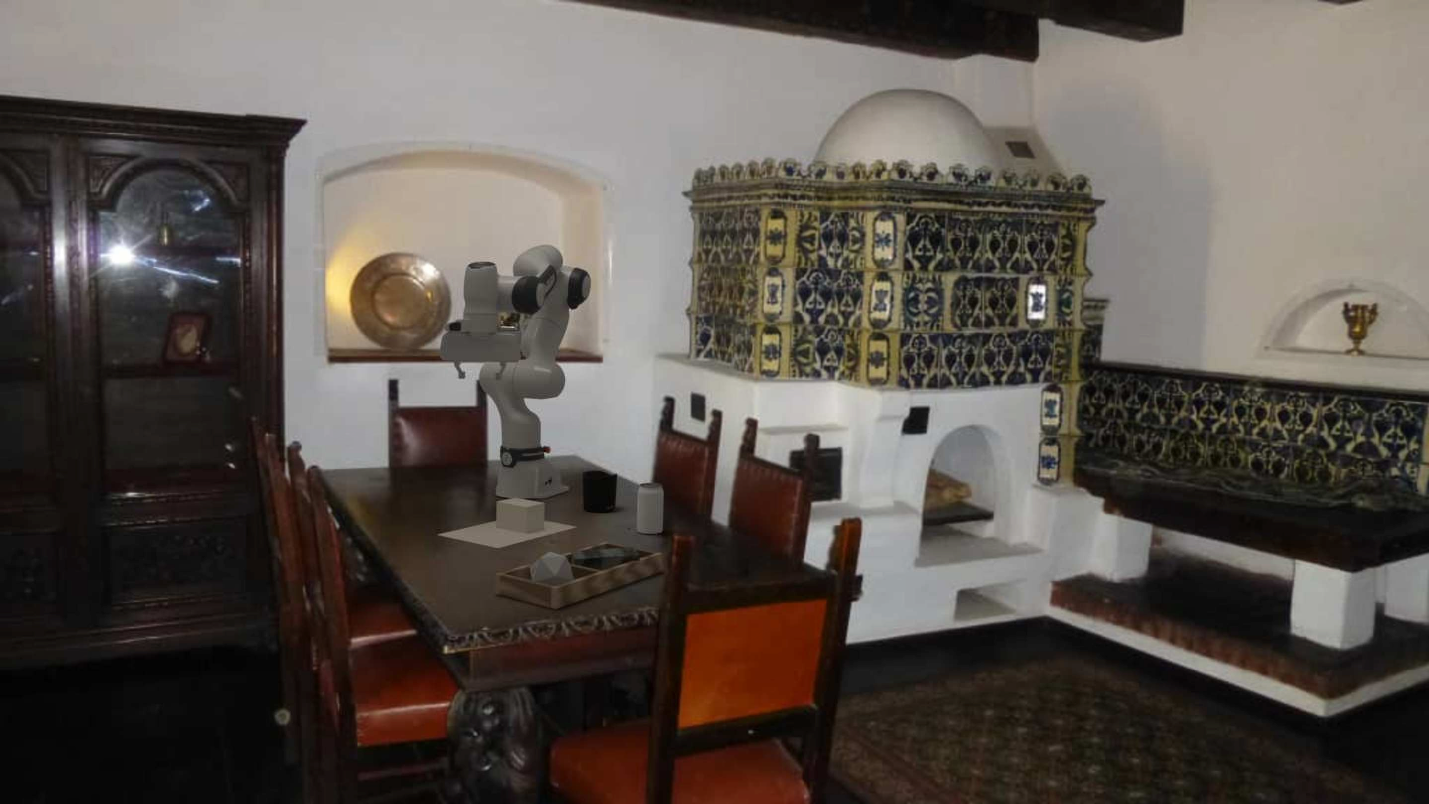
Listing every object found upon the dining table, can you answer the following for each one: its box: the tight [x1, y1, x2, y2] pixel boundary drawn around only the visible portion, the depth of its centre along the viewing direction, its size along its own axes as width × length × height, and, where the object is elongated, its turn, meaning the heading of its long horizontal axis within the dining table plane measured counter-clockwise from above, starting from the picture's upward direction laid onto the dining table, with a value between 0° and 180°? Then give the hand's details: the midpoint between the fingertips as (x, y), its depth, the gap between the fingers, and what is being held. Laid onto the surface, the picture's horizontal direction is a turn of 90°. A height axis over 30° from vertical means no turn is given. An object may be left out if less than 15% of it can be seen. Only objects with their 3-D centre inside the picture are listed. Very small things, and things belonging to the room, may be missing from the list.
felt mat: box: [437, 520, 577, 549], centre depth 264 cm, size 28×20×1 cm
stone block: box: [570, 546, 640, 571], centre depth 228 cm, size 9×14×5 cm, turn 103°
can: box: [636, 482, 665, 535], centre depth 268 cm, size 6×6×12 cm
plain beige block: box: [495, 498, 546, 533], centre depth 267 cm, size 6×10×6 cm, turn 57°
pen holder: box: [582, 470, 618, 514], centre depth 292 cm, size 9×9×10 cm
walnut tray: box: [494, 541, 664, 610], centre depth 223 cm, size 35×16×4 cm, turn 147°
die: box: [530, 551, 574, 586], centre depth 214 cm, size 8×9×10 cm
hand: (480, 379), depth 276 cm, fingers open, 8 cm apart
